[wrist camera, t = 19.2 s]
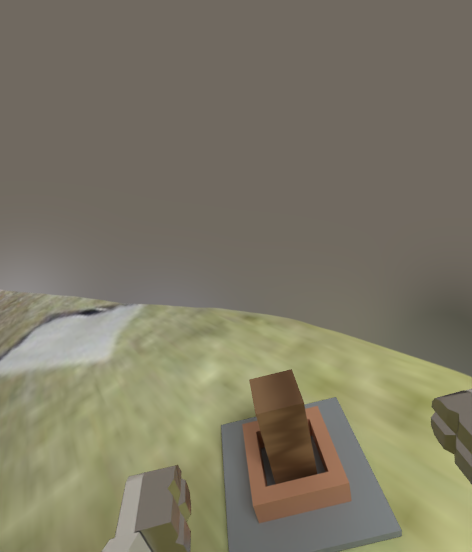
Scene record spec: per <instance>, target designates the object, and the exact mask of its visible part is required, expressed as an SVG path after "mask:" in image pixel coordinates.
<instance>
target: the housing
mask: <svg viewBox="0 0 472 552" xmlns="http://www.w3.org/2000/svg"><path fill="white" fill-rule="evenodd" d="M304 406H305V411H306V417H307V422H308V427H309V432H310V437H311V443H312V448H313V453H314V458H315V464H316V469H317V474H316V475H312V476H308V477H304V478H300V479H296V480H292V481H287V482H283V483H279V484H275V480H274V477H273V473H272V470H271V466H270V463H269V459H268V456H267V452H266V449H265V445H264V442H263V438H262V435H261V431H260V428H259V424H258V421H257V417H253V418H248V419H244V420H240V421H236V422H232V423H228V424H224V425H221V431H222V447H223V464H224V480H225V497H226V513H227V529H228V546H229V552H337V551H342V550H346V549H350V548H354V547H358V546H363V545H367V544H371V543H375V542H379V541H384V540H388V539H392V538H396V537H400V536H402V530H401V528H400V526H399V524H398V522H397V520H396V518H395V516H394V514H393V512H392V510H391V508H390V506H389V504H388V502H387V500H386V498H385V496H384V494H383V491H382V489H381V487H380V485H379V483H378V481H377V479H376V477H375V475H374V473H373V471H372V469H371V467H370V465H369V463H368V461H367V459H366V457H365V455H364V453H363V451H362V449H361V447H360V445H359V443H358V441H357V439H356V437H355V435H354V433H353V431H352V429H351V427H350V425H349V423H348V421H347V419H346V417H345V414H344V412H343V410H342V408H341V406H340V404H339V402H338V400H337V398H336V397H334V398H330V399H326V400H322V401H318V402H314V403H310V404H306V405H304Z"/></svg>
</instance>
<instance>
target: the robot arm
mask: <svg viewBox="0 0 472 552" xmlns="http://www.w3.org/2000/svg"><path fill="white" fill-rule="evenodd" d="M432 408H433V409H434V411H435V413H434V414H433V416H432V417H431V426H432V429H433V432H434V435H435V436H436V438H437V440H438V442H439V443H440V444H441V446H442V447H443V448H444V449H445V450H447V451H449V452H451V453H452V454H454V456H455V464H456V465H457V466H458V467H459V469H460V470H461V471H462V473H463V474H464V475H465V476H466V478H467V479H468V480H469V481H470V483H471V484H472V389H469V390H466V391H464V390H463V391H460V392H456V393H452V394H449V395H445V396H442V397H438V398H434V400H433V401H432ZM190 515H191V500H190V492H189V488H188V485H187V483H186V480H183V479H181V470H180V468H179V466H178V465H175V466H171V467H167V468H163V469H158V470H154V471H150V472H145V473H141V474H137V475H133V476H129V477H128V479H127V481H126V484H125V489H124V494H123V499H122V504H121V509H120V514H119V519H118V524H117V529H116V534H115V538H112V539H110V540H109V541H108V543H107V544H106V546H105V547H104V549H103V550H102V552H190V542H191V531H190V529H189V527H188V525H187V523H186V522H187V521H188V519H189V517H190Z"/></svg>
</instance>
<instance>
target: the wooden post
mask: <svg viewBox="0 0 472 552" xmlns="http://www.w3.org/2000/svg"><path fill="white" fill-rule="evenodd" d="M250 386H251V391H252V397H253V402H254V408H255V413H256V417H257V421H258V424H259V428H260V431H261V435H262V438H263V442H264V445H265V449H266V452H267V456H268V459H269V463H270V466H271V470H272V473H273V477H274V480H275V484H279V483H283V482H287V481H292V480H296V479H300V478H304V477H308V476H312V475H316V474H317V469H316V464H315V458H314V453H313V448H312V443H311V437H310V432H309V427H308V422H307V417H306V411H305V406H304V402H303V399H302V396H301V394H300V391H299V388H298V385H297V383H296V380H295V377H294V374H293V372H292V369H291V370H287V371H283V372H279V373H275V374H271V375H267V376H263V377H258V378H254V379H250Z"/></svg>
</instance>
